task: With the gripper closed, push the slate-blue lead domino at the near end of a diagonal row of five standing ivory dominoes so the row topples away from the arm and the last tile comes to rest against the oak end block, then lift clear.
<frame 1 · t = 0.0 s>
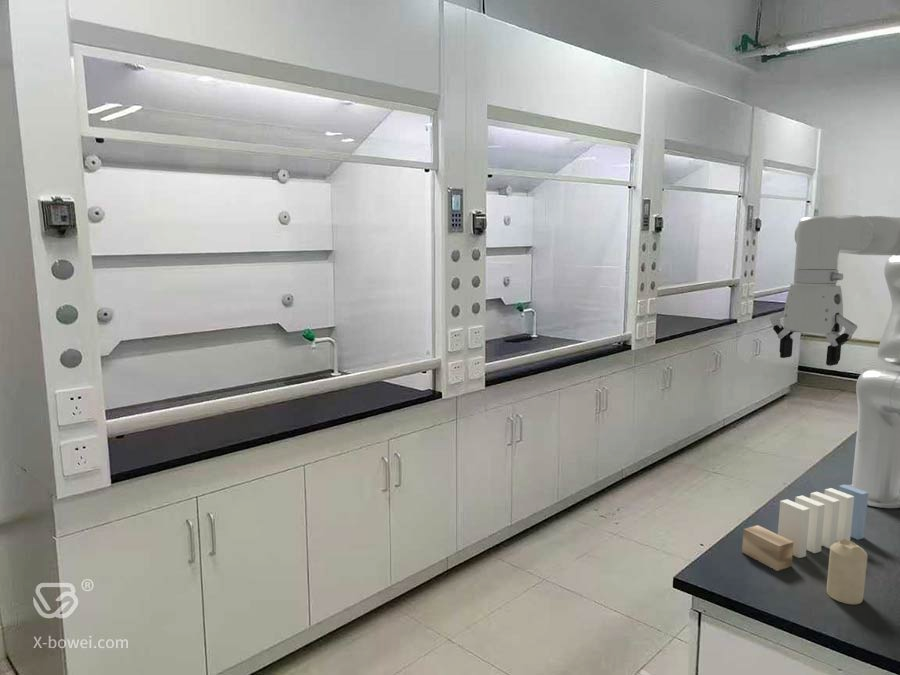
hand: (808, 360, 131), 37 cm above the counter, tool pointing down, fingers open, 9 cm apart
domino 2: (835, 538, 133), on the counter
domino 3: (820, 542, 131), on the counter
candle: (844, 597, 111), on the counter
end block: (766, 559, 124), on the counter
domino 4: (806, 546, 129), on the counter
domino 5: (791, 551, 127), on the counter
domino 1: (849, 533, 135), on the counter
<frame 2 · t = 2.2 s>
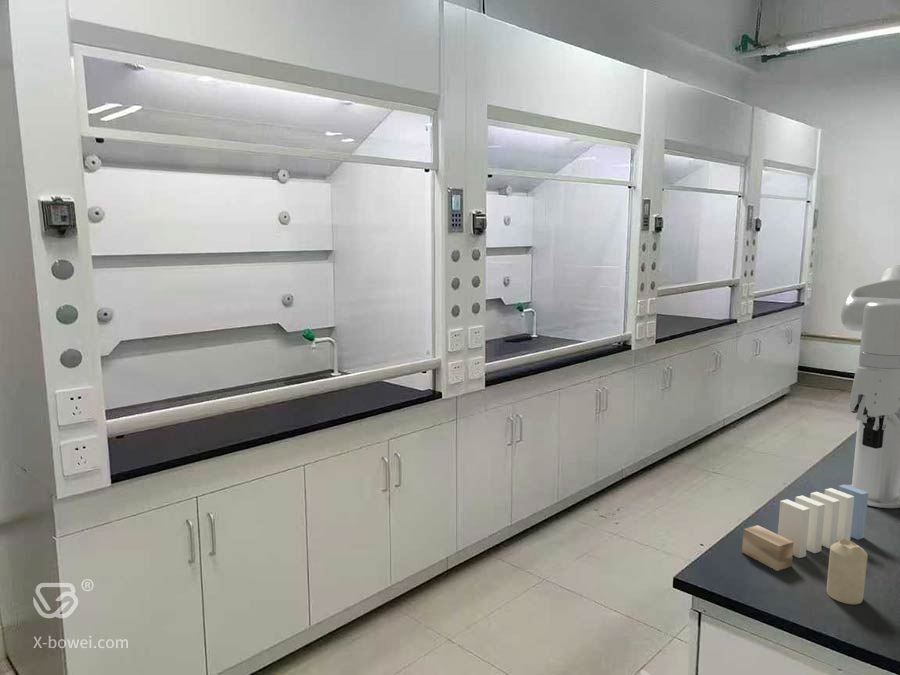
hand: (872, 446, 134), 19 cm above the counter, tool pointing down, fingers closed
nothing on the counter moved.
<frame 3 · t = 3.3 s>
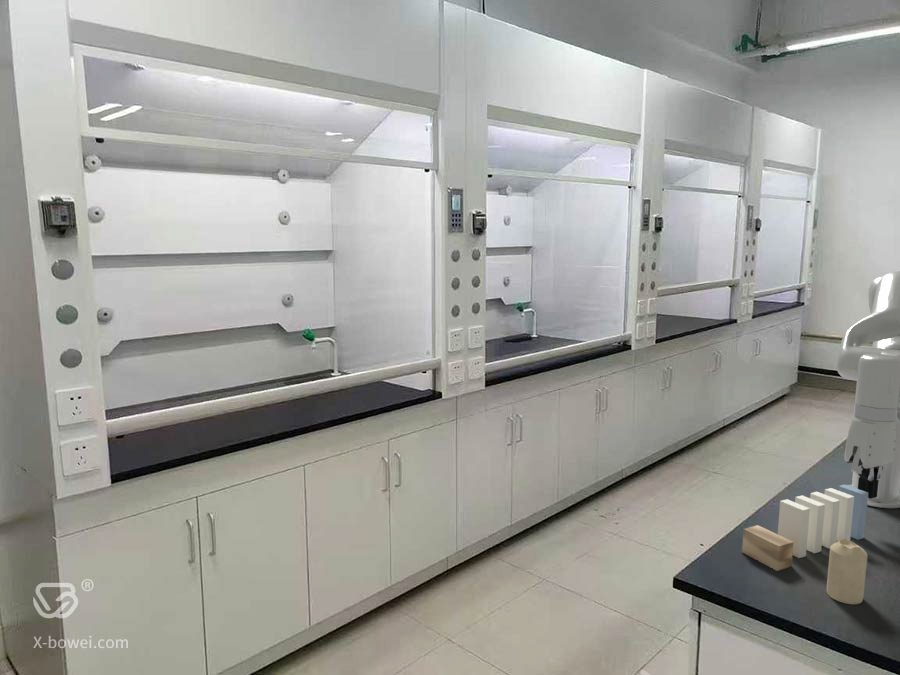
hand: (866, 495, 135), 8 cm above the counter, tool pointing down, fingers closed
nothing on the counter moved.
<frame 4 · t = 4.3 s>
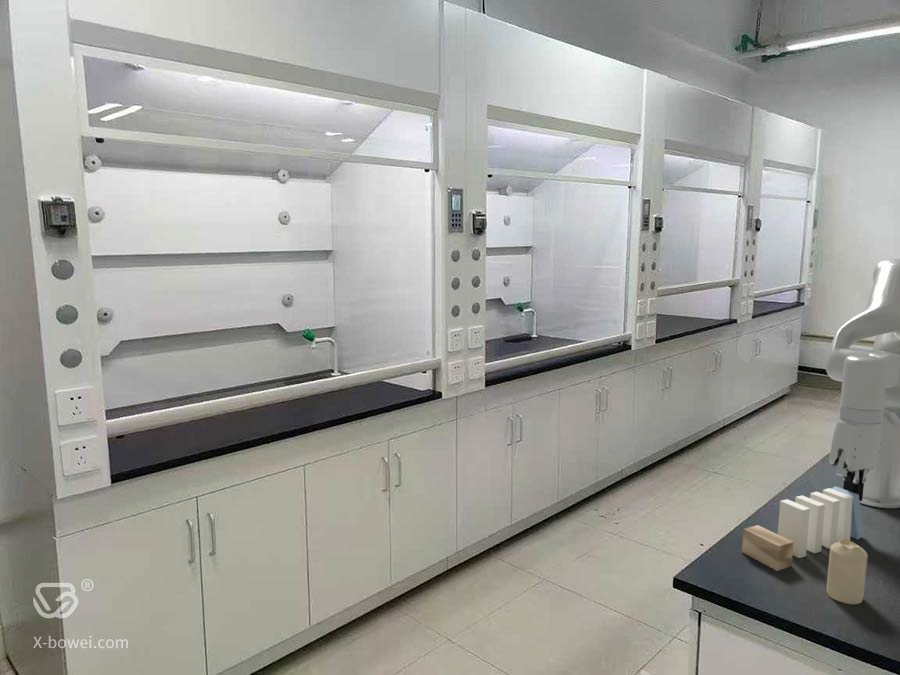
hand: (852, 499, 133), 8 cm above the counter, tool pointing down, fingers closed
domino 1: (849, 532, 135), on the counter, tilted 18°, touching gripper
everything else where it was.
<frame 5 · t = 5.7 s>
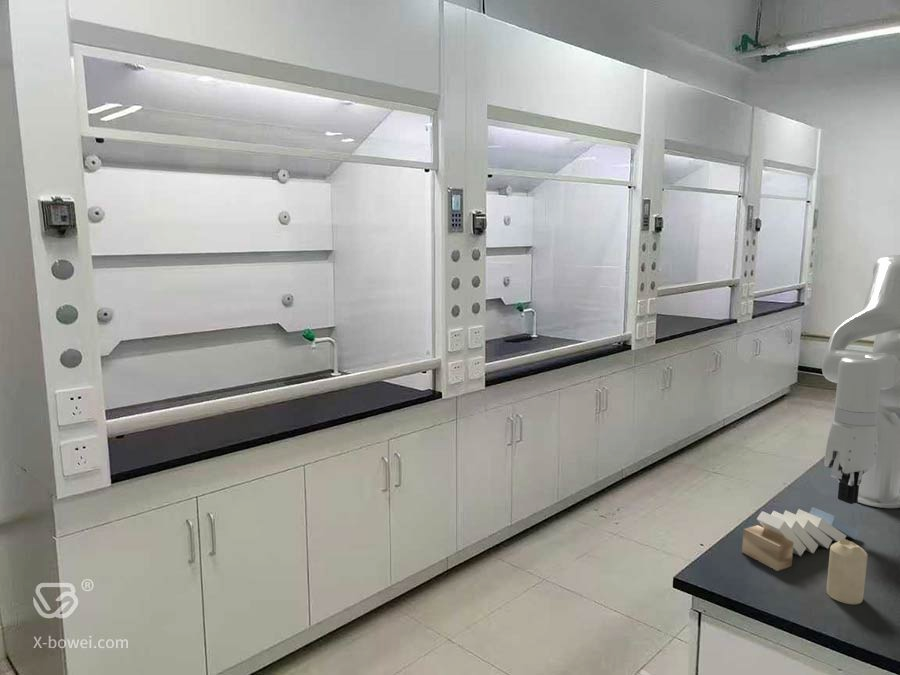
hand: (847, 501, 133), 8 cm above the counter, tool pointing down, fingers closed
domino 2: (832, 535, 132), point 1 cm above the counter, tilted 57°, touching domino 1, domino 3
domino 3: (818, 539, 131), point 1 cm above the counter, tilted 53°, touching domino 2, domino 4
domino 4: (804, 544, 129), point 1 cm above the counter, tilted 47°, touching domino 3, domino 5
domino 5: (792, 546, 127), point 1 cm above the counter, tilted 44°, touching domino 4, end block
domino 1: (846, 530, 134), point 1 cm above the counter, tilted 59°, touching domino 2
everything else where it was.
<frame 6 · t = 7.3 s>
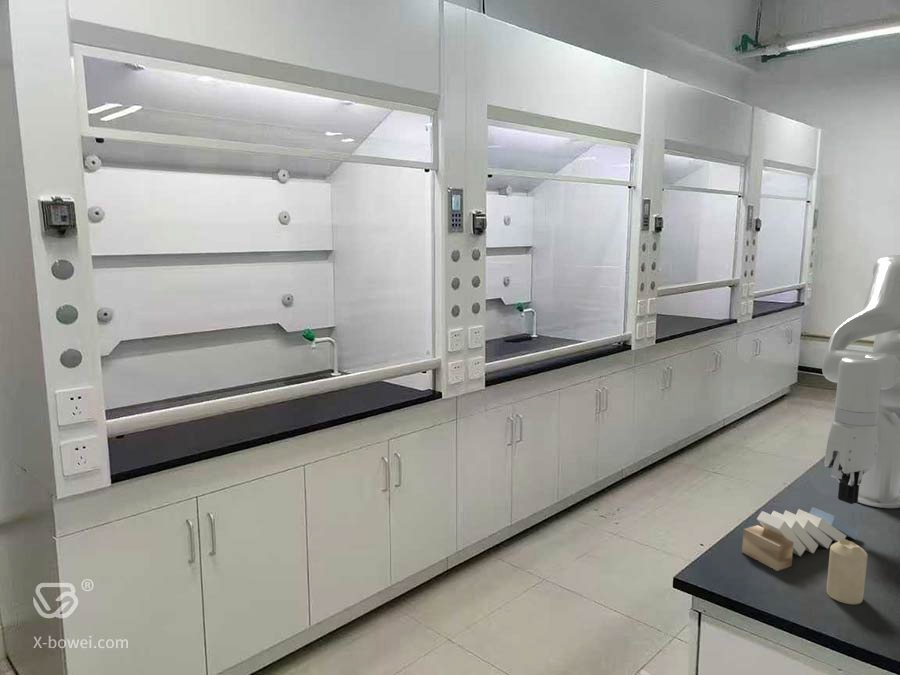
hand: (847, 501, 133), 8 cm above the counter, tool pointing down, fingers closed
nothing on the counter moved.
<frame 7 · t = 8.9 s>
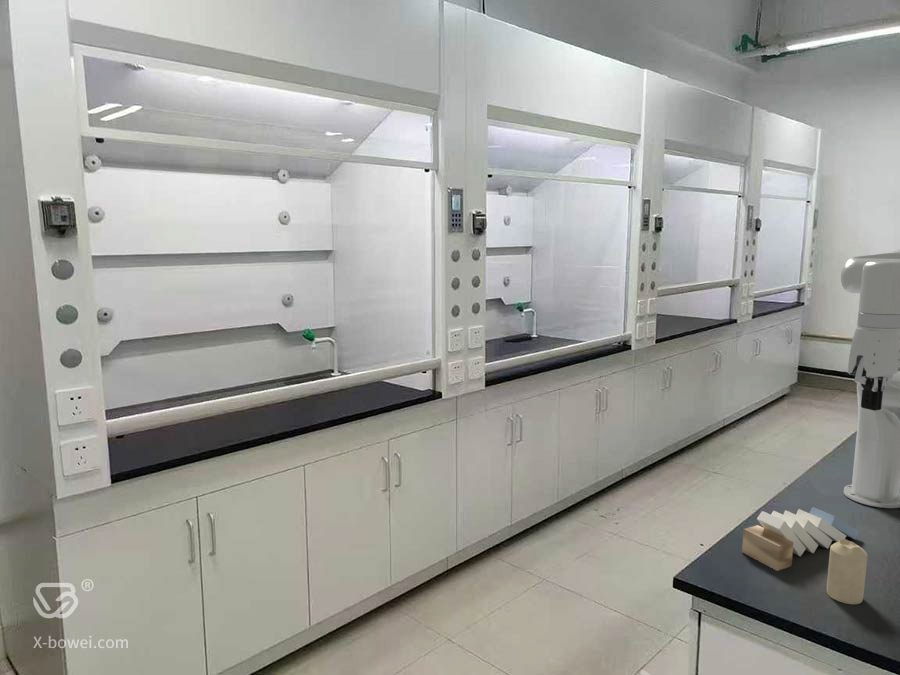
hand: (870, 408, 132), 27 cm above the counter, tool pointing down, fingers closed
nothing on the counter moved.
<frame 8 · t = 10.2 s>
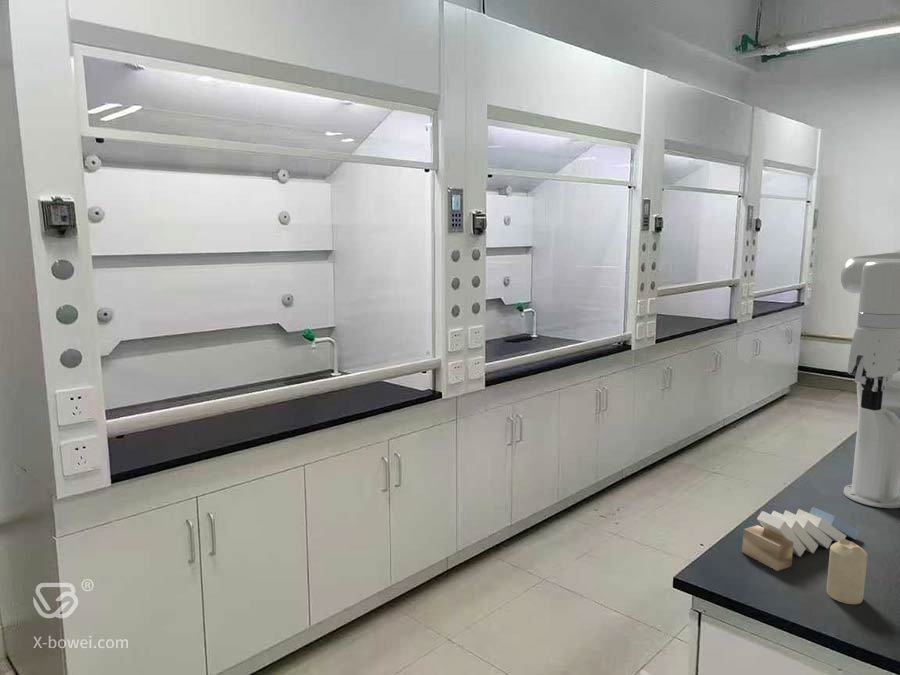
hand: (870, 408, 132), 27 cm above the counter, tool pointing down, fingers closed
nothing on the counter moved.
at the end: domino 5 tilted 43°; domino 1 tilted 59° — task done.
